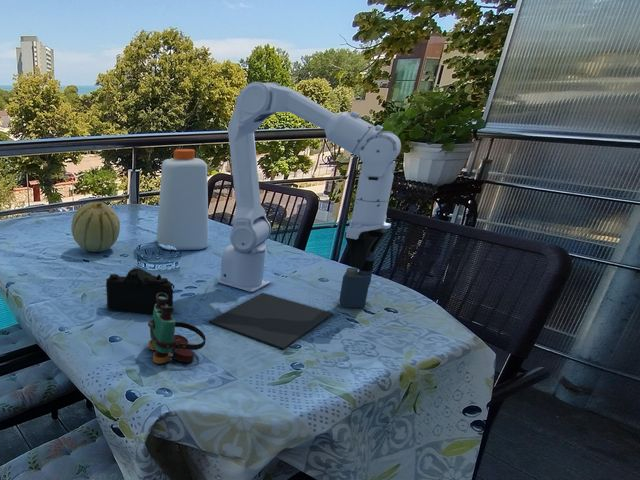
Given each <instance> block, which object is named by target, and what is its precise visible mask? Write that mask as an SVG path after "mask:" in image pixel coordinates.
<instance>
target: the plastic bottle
mask: <svg viewBox="0 0 640 480" xmlns="http://www.w3.org/2000/svg"><path fill="white" fill-rule="evenodd" d="M208 194H209V191H208V163H206V162H205V160H204V159H202V158H197V157H196V150H195V149H192V148H181V149H180V148H179V149H178V148H177V149H174V150H173V158H166V159H164V160H163V161H162V163H161V173H160V188H159V199H158V200H159V201H158V213H157V225H156V240H157V241H156V242H157V245H159V244H163V245H170V246H173V247H175V248H176V249H177V250H176V251H199V250H203V249H206V248H207V247H208V246H209V243H210V240H209V239H210V238H209V235H210V234H209V233H210V232H209V196H208Z"/></svg>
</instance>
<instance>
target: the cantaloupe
mask: <svg viewBox="0 0 640 480" xmlns="http://www.w3.org/2000/svg"><path fill="white" fill-rule="evenodd" d="M70 228H71V235H72V238H73V240H74V241H75V243H76V244H77V245H78V246H79V248H81V249H83V250H84V251H86V252H90V253H91V252H92V253H99V252H105V251H106V250H108V249H110V248H111V247H113V246H114V245H115V244H116V242H117V241H118V238H119V235H120V231H121V221H120V218H119V216H118V214H117V213H116V211H115V210H114V209H113V208H112V207H111V206H110V205H108V204H106V203H104V202H102V201H101V202H100V201H93V202H87V203H85V204H83V205H81V206H80V207H79V208H78V209H77V210H76V211H75V213H74V214H73V217H72V221H71V225H70Z"/></svg>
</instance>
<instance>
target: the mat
mask: <svg viewBox="0 0 640 480" xmlns="http://www.w3.org/2000/svg"><path fill="white" fill-rule="evenodd" d="M333 315H334V313H333V312H332V311H331V312H330V311H327V310H323V309H320V308H317V307H313V306H310V305H306V304H303V303H300V302H295V301H293V300H289V299H286V298H283V297H279V296H275V295H272V294H269V293H265V292H261V293H259V294H258V295H256V296H254V297H251V298H250V299H248V300H246V301H244V302H243V303H240V304H239V305H237V306H235V307H233V308H231V309H229V310H227V311H225V312H223V313H221V314H219V315H217V316H215V317H214V318H211V319H210V320H209V324H212V325H215V326H218V327H219V328H222V329H225V330H228V331H231V332H234V333H236V334H239V335H242V336H245V337H247V338H249V339H253V340H255V341H257V342H261V343H264V344H266V345H269V346H271V347H274V348H277V349H280V350H283V351H284V350H285V349H287V348H288V347H290V346H291V345H292V344H294V343H295V342H297V341H298V340H300V339H301V338H302V337H304V336H305V335H306V334H308V333H310V332H311V331H312V330H313V329H315V328H317V327H318V326H320V325H321V324H322V323H323V322H325V321H326V320H328V319H329V318H331V317H332V316H333Z"/></svg>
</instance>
